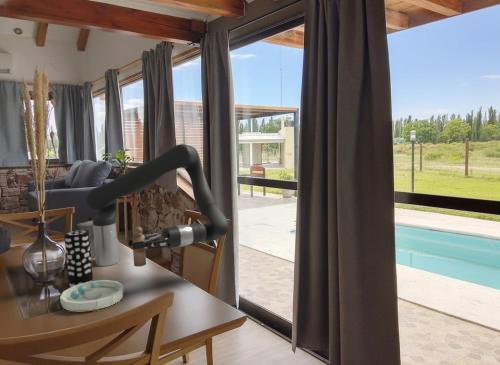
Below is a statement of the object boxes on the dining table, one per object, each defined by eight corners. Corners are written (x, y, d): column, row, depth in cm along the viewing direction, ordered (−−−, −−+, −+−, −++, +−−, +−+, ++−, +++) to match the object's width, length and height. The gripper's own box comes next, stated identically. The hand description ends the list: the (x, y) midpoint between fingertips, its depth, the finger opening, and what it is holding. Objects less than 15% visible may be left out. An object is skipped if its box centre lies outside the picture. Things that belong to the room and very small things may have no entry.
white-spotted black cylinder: (69, 283, 147) (65, 231, 145) (93, 280, 150) (89, 228, 148) (68, 291, 139) (63, 236, 137) (93, 287, 142) (88, 233, 140)
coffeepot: (74, 258, 178) (71, 219, 176) (84, 252, 188) (80, 215, 186) (107, 257, 178) (104, 218, 176) (115, 251, 187) (113, 214, 185)
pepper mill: (138, 262, 138) (135, 225, 136) (148, 263, 137) (146, 225, 135) (131, 266, 134) (129, 227, 132) (142, 266, 133) (139, 228, 131)
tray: (88, 286, 143) (87, 276, 143) (134, 291, 138) (133, 280, 137) (48, 309, 125) (47, 297, 125) (99, 315, 120) (98, 302, 119)
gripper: (169, 222, 148) (123, 229, 138) (185, 229, 136) (136, 238, 126) (170, 242, 149) (124, 250, 139) (186, 250, 137) (137, 260, 127)
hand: (130, 244), depth 133 cm, fingers closed on pepper mill, 4 cm apart
